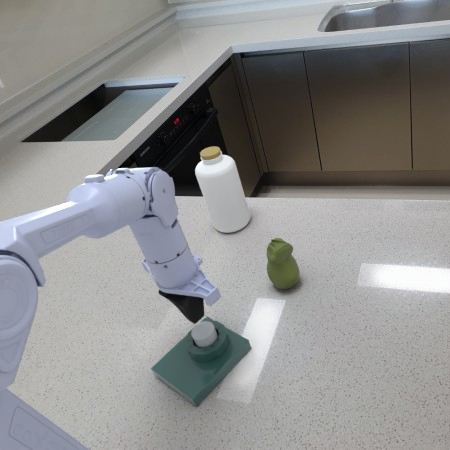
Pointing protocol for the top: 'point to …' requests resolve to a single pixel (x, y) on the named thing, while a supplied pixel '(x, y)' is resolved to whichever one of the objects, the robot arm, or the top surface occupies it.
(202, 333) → the light grey short cylinder
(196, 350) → the green socket base
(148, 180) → the robot arm
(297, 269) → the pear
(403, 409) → the top surface
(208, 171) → the white bottle
